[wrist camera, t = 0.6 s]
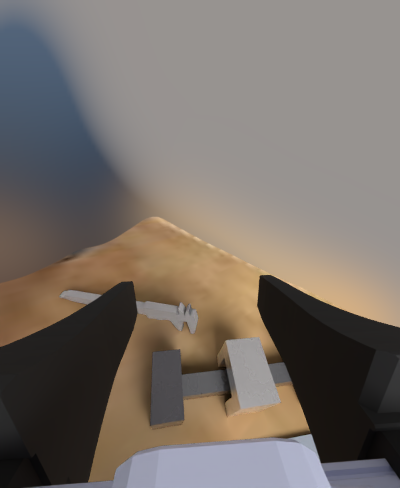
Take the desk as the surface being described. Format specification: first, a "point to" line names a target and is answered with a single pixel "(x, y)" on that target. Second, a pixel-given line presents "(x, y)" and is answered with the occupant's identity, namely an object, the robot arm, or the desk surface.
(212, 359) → the desk surface
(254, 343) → the white block
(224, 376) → the vise
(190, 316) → the caliper
